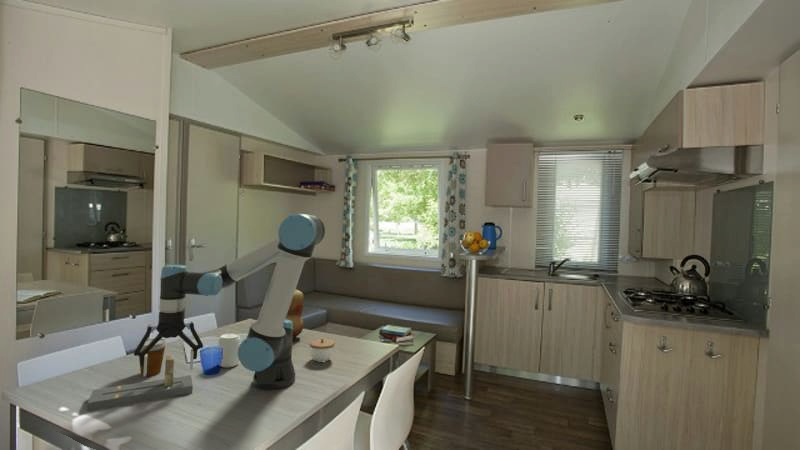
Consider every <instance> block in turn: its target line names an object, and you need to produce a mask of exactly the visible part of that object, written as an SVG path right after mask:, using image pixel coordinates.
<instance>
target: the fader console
mask: <svg viewBox="0 0 800 450" xmlns="http://www.w3.org/2000/svg"><path fill="white" fill-rule="evenodd" d="M188 394H193V380H192V375H191V374H189V375H182V376H175V377H173V386H166V387H165V378H162V379H157V380H150V381H142V382H136V383H129V384H123V385H117V386H110V387H103V388H96V389H92V392H91V394H90V397H89V399H88V401H87V407H86V408H87V409H86V411H87V412H91V411H97V410H102V409H107V408H114V407H120V406H125V405H131V404H138V403H142V402H148V401H154V400H160V399H166V398H171V397H172V398H173V397H177V396H183V395H188Z"/></svg>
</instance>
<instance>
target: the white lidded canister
mask: <svg viewBox="0 0 800 450" xmlns="http://www.w3.org/2000/svg"><path fill="white" fill-rule="evenodd" d="M240 344H241V337H240V334H239V333H235V332H232V333H224V334H222V335H220V337H219V339H218V348H219V347H221V348H223V361H222V367H221V368H232V367H235V366H237V365H239V364H240V361H239V359H238V348H239V346H240Z"/></svg>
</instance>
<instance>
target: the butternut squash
mask: <svg viewBox="0 0 800 450" xmlns="http://www.w3.org/2000/svg"><path fill="white" fill-rule="evenodd" d="M304 299H305V298H304V294H303V292H302V291H300V290H298V289H297V288H296V289H295V292H294V295H293V298H292V301H291V304H290V307H289V310H288V313H287V316H286V320H290V321H292V323H293V338H292V340H293V339H295V338H296V337H298V336H299V335H300V334H302V332H303V330H304V320H303V316H302V314H303V309H304V302H305V301H304Z"/></svg>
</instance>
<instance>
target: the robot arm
mask: <svg viewBox="0 0 800 450" xmlns="http://www.w3.org/2000/svg"><path fill="white" fill-rule="evenodd" d="M277 232H278V233H277V235H278V236H277V237H276V238H274V239H272V240H270V241H268V242H266V243H264V244H262V245H261V246H259V247H257V248H255V249H253V250H251V251H249V252H248V253H245V254H244V255H242V256H240V257H237V258H236V259H234V260H232V261H230V262H229V263H227V264H224V265H222V266H221V267H219V268H216V269H212V270H208V271H203V272H193V271H188V267H187V265H184V264H168V265H164V266H162V268H161V275H160V292H159V293H160V296H159V304H158V305H159V306H158V307H159V308H158V309H159V312H158V322H157V325H152V324H149V325H147V329H146V332H145V333H144V335H143V337H142V338H141V340H140V343H139V342H138V344H139V345H136V348H135V350H134V352H133V355H134V356H135V357H136V356H138V357H139V356H140V361H139V367H140V366H144V374H143V376H142V377H147V376H146V372H147V353H148V352H149V350H150V349H151V348H152V347H153V346H154V345H155V344H156V343H157V342H158V341H159V340H160V339H170V338H177V337H179V338H180V339H182V341H184V342H185V344H187V345H188V346H189V347H190V359H189V370H190V371H192V370H193V368H194V360H197V358H198V350H199V349H203V347H204V343H203V341H202V340H201V338H200V336H199V334H198V333H197V330H196V329H195V325H194V324H195V323H194V321H190V322H188V323H185V310H184V309H185V305H186V295H197V296H205V297H208V296H217V295H219V293H220V292H221V291H222V290H223V289H227V288H229V287H231V286H232V285H234V284H235V283H237V282H238V281H240V280H242V279H244V278H246V277H248V276H251V275H252V274H255V273H256V272H258V271H259V270H261V269H264V268H265V267H267V266H269V265H272V263H275V262H276V264H275V268H274V271H273V274H272V276H271V280H270V282H269V285H268V288H267V292H266V295H265V296H264V299H263V303H262V307H261V309H260V312H259V314H258V318H257V320H255V321H254V322H252V323H251V324H250V327H249V330H248V333H247V336H246V338H245V339H244V340H242V342H240V346H239V348H238V359H239V363H240V364H241V365H242V367H243V368H244V369H246V370H248V371H250V372H254V373H253V375H252V376H253V377H252V384H253V386H254V387H255V388H258V389H261V390H279V389H283V388H287V387H289V386H292V385H293V384H294V383H295V382H296V375H297V374H296V371H295V367H294V363H293V360H292V358H293V357H292V355H293V339H294V338H293V323H292V321H290V320H286V316H287V313H288V310H289V307H290V304H291V301H292V298H293V295H294V292H295V289H296V290H297V285H298V284H299V283H298V282H299V280H300V277H301V274H302V271H303V268H304V266H305V262H306V261H307V260H309V259H310V260H311V258H312V255H313V253H314V250H315V247H316V246H317V245H319V244H320V243H321V242H322V241H323V239H324V237H325V235H326V227H325V223H324V221H322V219H321V218H320V217H318V216H317V215H314V214H306V213H300V212H299V213H293V214H291V215H288V216H287V217H286V218H285V217H284V219H283V220H281V223H280V225H279V228H278V231H277ZM185 328H186V329H188V330H190V333H191V334H192V336H193V338H194V339H195V342H196V343H197V344H195V342H193V341H192V340H191V339H190V338H189V337H188V335H186V333H185V332H184V330H185ZM154 331H157V332H158V334H157V335H156V336H155V337H154V338H152V339H153V340H152V341H151V342H150V343H149V344H148V345H147V346H146V347H145V349H144V350H143V351H140V350H141V349H142V347H143V346H144V344H145V342H146V341H147V339H149V338H150V336H151V334H153V333H154ZM292 338H293V339H292Z"/></svg>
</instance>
